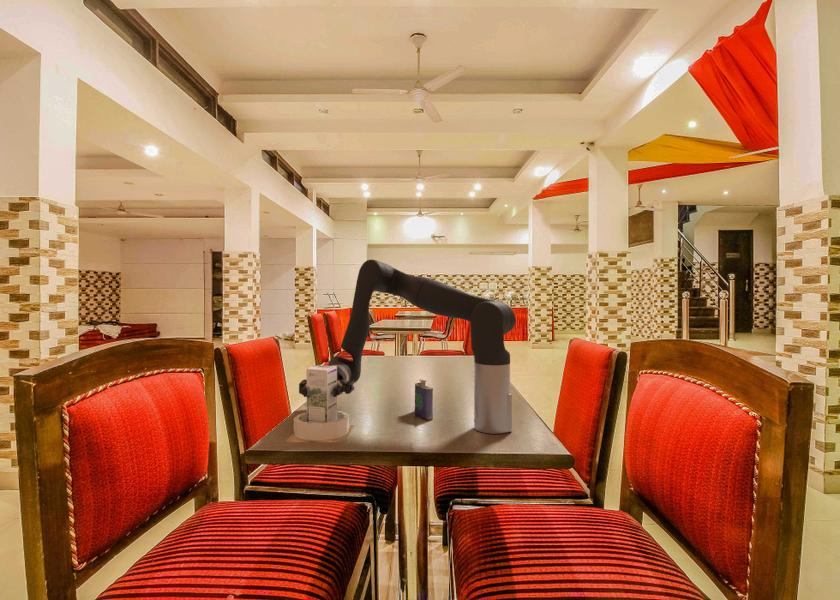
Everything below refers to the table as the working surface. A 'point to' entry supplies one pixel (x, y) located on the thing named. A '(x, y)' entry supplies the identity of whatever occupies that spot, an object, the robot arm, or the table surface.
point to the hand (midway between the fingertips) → (319, 392)
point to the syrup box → (321, 394)
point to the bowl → (321, 428)
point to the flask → (423, 400)
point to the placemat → (342, 439)
